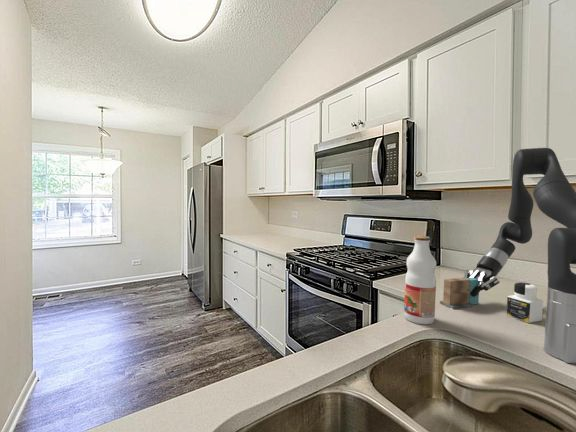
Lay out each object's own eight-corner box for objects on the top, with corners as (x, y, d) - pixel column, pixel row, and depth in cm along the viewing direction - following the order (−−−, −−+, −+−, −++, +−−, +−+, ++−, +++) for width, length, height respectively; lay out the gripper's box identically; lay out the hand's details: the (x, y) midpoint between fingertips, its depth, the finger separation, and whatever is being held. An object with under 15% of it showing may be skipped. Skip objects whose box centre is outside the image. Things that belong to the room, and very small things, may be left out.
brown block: (458, 301, 116) (460, 276, 115) (472, 306, 110) (473, 280, 109) (439, 303, 113) (441, 278, 112) (452, 309, 107) (453, 282, 107)
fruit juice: (435, 327, 91) (439, 239, 90) (403, 321, 95) (406, 237, 93) (433, 316, 100) (437, 236, 98) (404, 312, 103) (407, 234, 102)
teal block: (471, 301, 116) (472, 277, 115) (478, 303, 113) (479, 279, 112) (462, 301, 114) (463, 278, 114) (469, 304, 111) (470, 280, 111)
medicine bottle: (505, 315, 102) (507, 282, 101) (519, 313, 104) (521, 280, 104) (528, 323, 95) (530, 287, 95) (542, 320, 98) (544, 285, 97)
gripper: (472, 252, 122) (447, 282, 119) (505, 258, 108) (479, 293, 105) (481, 264, 123) (457, 294, 120) (515, 272, 110) (489, 306, 107)
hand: (467, 293), depth 113 cm, fingers closed on teal block, 3 cm apart
